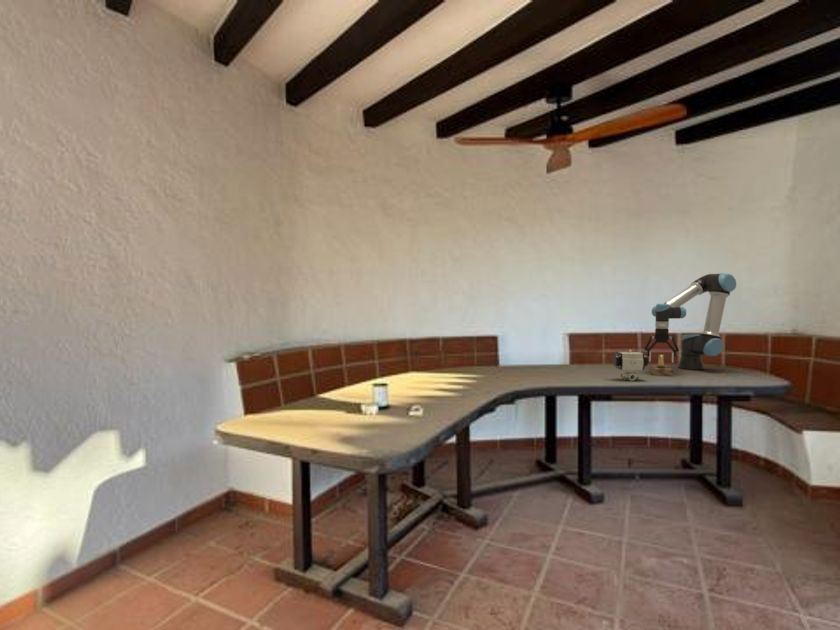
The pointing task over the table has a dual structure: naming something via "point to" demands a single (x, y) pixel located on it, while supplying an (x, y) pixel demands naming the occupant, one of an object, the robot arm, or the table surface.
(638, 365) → the ball valve
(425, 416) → the table surface
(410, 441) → the table surface
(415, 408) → the table surface
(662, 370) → the hole block
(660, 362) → the brass peg
